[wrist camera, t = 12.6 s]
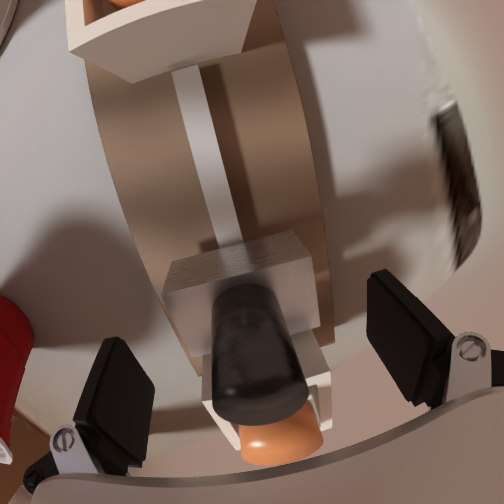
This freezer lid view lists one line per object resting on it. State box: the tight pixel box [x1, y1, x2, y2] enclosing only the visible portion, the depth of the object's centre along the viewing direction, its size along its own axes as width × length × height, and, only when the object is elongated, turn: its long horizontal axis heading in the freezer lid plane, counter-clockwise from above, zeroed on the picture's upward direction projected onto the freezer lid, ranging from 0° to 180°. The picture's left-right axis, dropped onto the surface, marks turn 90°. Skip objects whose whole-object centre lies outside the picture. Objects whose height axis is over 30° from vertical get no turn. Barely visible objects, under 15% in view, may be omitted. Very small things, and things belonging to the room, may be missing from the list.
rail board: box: [84, 0, 335, 377], centre depth 14 cm, size 24×10×2 cm, turn 13°
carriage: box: [161, 230, 320, 426], centre depth 11 cm, size 4×6×8 cm, turn 103°
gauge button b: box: [238, 400, 323, 465], centre depth 11 cm, size 4×4×2 cm
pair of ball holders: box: [65, 0, 332, 450], centre depth 11 cm, size 24×5×8 cm, turn 13°
